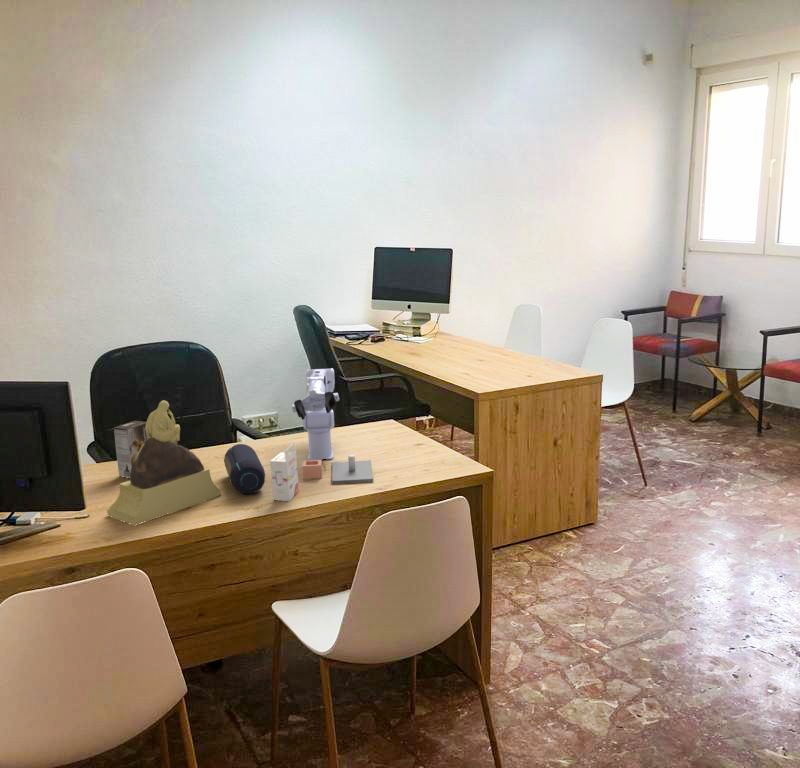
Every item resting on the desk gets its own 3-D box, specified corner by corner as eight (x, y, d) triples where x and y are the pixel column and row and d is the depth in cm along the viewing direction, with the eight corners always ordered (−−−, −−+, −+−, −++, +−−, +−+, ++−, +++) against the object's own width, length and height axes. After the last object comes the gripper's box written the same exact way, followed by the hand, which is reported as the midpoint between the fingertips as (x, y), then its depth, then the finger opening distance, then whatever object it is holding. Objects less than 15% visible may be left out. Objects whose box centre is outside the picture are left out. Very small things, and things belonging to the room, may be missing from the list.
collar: (303, 473, 254) (303, 460, 253) (322, 472, 255) (321, 459, 254) (303, 479, 249) (302, 466, 248) (321, 478, 249) (321, 465, 248)
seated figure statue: (193, 487, 245) (184, 388, 239) (221, 495, 237) (212, 393, 231) (107, 516, 224) (95, 408, 218) (135, 526, 216) (123, 415, 210)
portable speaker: (224, 473, 257) (221, 442, 255) (256, 469, 260) (254, 439, 258) (233, 500, 233) (230, 466, 231) (268, 495, 236) (266, 461, 234)
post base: (332, 465, 261) (331, 448, 260) (370, 463, 262) (370, 446, 260) (332, 484, 243) (331, 466, 242) (373, 481, 244) (372, 464, 243)
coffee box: (140, 468, 264) (135, 419, 261) (155, 471, 261) (150, 421, 258) (118, 477, 257) (112, 427, 253) (133, 479, 253) (127, 429, 250)
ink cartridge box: (282, 490, 239) (279, 441, 236) (299, 491, 238) (296, 442, 235) (272, 501, 231) (268, 450, 228) (289, 501, 230) (286, 450, 227)
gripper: (290, 390, 258) (287, 407, 245) (335, 378, 257) (334, 395, 245) (296, 410, 260) (294, 428, 248) (341, 398, 260) (341, 416, 247)
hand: (314, 413), depth 246 cm, fingers open, 7 cm apart
